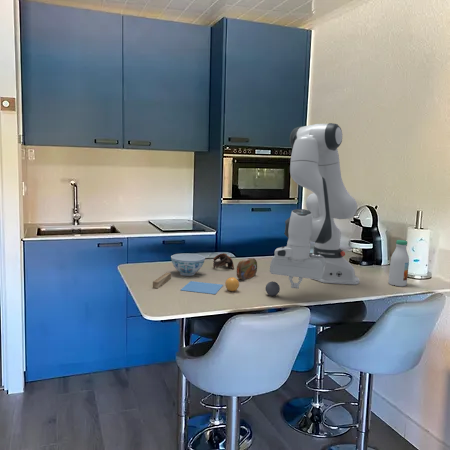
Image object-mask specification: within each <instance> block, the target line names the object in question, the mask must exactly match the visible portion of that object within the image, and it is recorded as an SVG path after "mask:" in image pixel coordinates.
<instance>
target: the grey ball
mask: <svg viewBox="0 0 450 450" xmlns="http://www.w3.org/2000/svg"><path fill="white" fill-rule="evenodd" d="M280 290H281V288H280V285H279V284H278V283H277V282H276V281H270V282H268V283H267V284H265V292H266V293H267V295H269V296H272V297H276V295H279V293H280Z"/></svg>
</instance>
